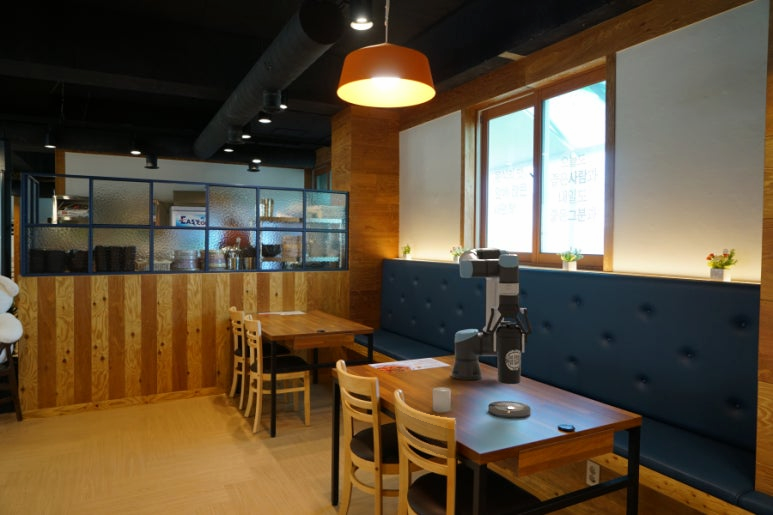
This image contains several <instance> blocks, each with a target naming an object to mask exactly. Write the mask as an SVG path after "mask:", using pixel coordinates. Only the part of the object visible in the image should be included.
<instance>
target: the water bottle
mask: <svg viewBox="0 0 773 515" xmlns="http://www.w3.org/2000/svg"><path fill="white" fill-rule="evenodd" d="M522 335H524V333H523V332H522V330H521V328H520V326H519V325H518V323H517V322H511V321H509V320H508V321H503V322H500V326H499V327H498V328H497V330H496V336H497V356H496V357H497V358H496V359H497V382H498V383H500V384H505V385H516V384H520V383H521V374H522Z"/></svg>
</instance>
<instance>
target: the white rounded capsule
mask: <svg viewBox="0 0 773 515" xmlns="http://www.w3.org/2000/svg"><path fill="white" fill-rule="evenodd" d="M451 396H452V394H451V388H448V387H440V386H439V387H434V388H433V389H432V411H434V412H436V413H443V414H444V413H449V412H451V410H452V409H451V406H452V403H451V402H452V401H451V400H452V399H451V398H452V397H451Z"/></svg>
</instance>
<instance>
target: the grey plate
mask: <svg viewBox="0 0 773 515" xmlns="http://www.w3.org/2000/svg"><path fill="white" fill-rule="evenodd" d="M487 409H488V410H487V411H488V413H489V414H490V415H491V416H494V417H497V418H501V419H511V420H519V419H520V420H521V419H526V418H528V417H530V416H531V411H532V410H531V407H530V405H528V404H526V403H524V402H520V401H514V400H513V401H512V400H511V401H509V400H502V401H501V400H500V401H494V402H490V403H489V404H488V408H487Z"/></svg>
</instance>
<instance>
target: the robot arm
mask: <svg viewBox="0 0 773 515" xmlns="http://www.w3.org/2000/svg"><path fill="white" fill-rule="evenodd" d="M519 260H520V259H519V255H518V254H510V252H509V250H508V249H507V248H501V247H488V248H487V247H485V248H484V247H482V248H481V247H478V248H477V247H475V248H470V249H468V250H465V251H464V252H463V253H461V254H460V256H459V259H458V264H459V276H460V278H466V279H470V278H474V279H477V278H479V279H481V278H484V279H486V290H485V291H486V292H485V293H486V294H485V296H486V300H485V303H486V304H485V306H486V307H485V308H486V309H485V311H486V312H485V316H486V317H485V326H484V327H483V328H482V332H479V329H477V328H468V329H463V330H458V331H457V332H456V333H455V334H454V340H453V341H454V363H453V367H452V369H451V378H453V379H454V380H455V379H456V380H461V381H476V380H480V379H482V378H483V372H482V369H481V365H480V362H479V357H497V336H496V330H497V328H498V327H499V326H500V322H503V321H504V320H505V319H514V320H515V322H516V323H518V325H517V326H518V327H520V328H521V330H522V332H523V335H522V341H521V353H525V344H528V336H529V335H531V334H533V330H532V326H531V323H530V320H529V317H528V309H527V308H526V307H524V308H523V307H520V299H519V298H520V296H519V295H518V294H519V293H520V288H519V286H520V283H519V282H520V281H519V272H520V270H519V265H520V262H519ZM520 312H521V315H522V314H523V317H524V318H523V319H524V321H525V324H526V327H527V330H526V328H525V326H524V324H523V323H522V321H521V320H520V318H519V316H518V314H519V313H520Z"/></svg>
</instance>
